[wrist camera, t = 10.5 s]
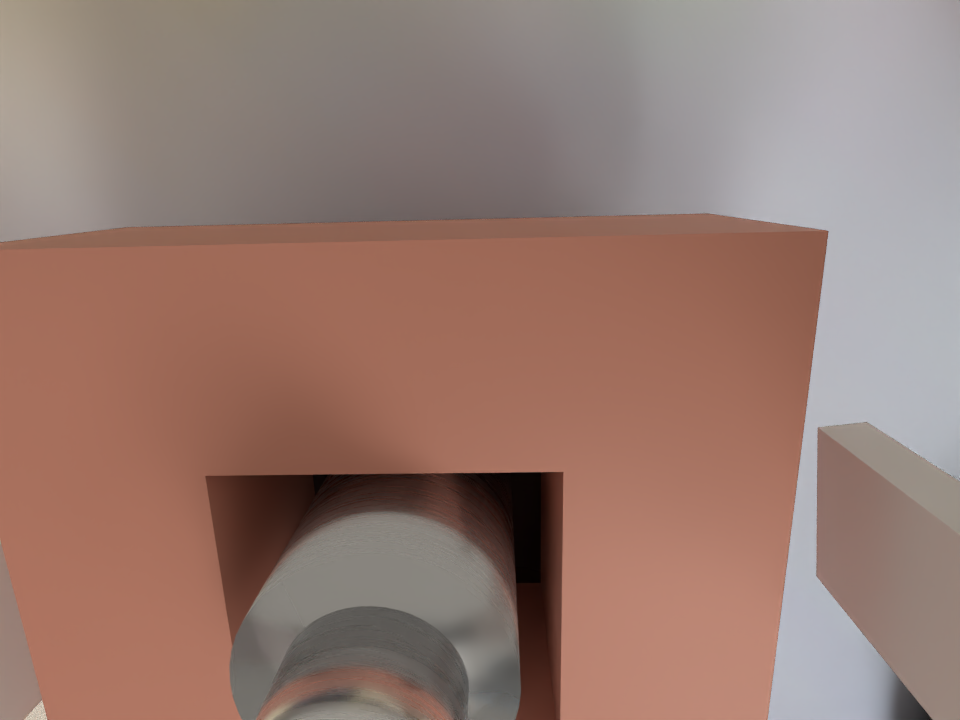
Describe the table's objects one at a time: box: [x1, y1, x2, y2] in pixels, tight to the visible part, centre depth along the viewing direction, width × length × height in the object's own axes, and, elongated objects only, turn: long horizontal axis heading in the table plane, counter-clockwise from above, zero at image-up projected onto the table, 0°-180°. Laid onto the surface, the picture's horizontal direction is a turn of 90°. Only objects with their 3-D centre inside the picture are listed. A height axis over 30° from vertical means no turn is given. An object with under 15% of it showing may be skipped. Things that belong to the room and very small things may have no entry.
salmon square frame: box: [0, 214, 828, 720], centre depth 10 cm, size 10×10×4 cm
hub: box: [229, 472, 541, 720], centre depth 10 cm, size 7×7×10 cm
